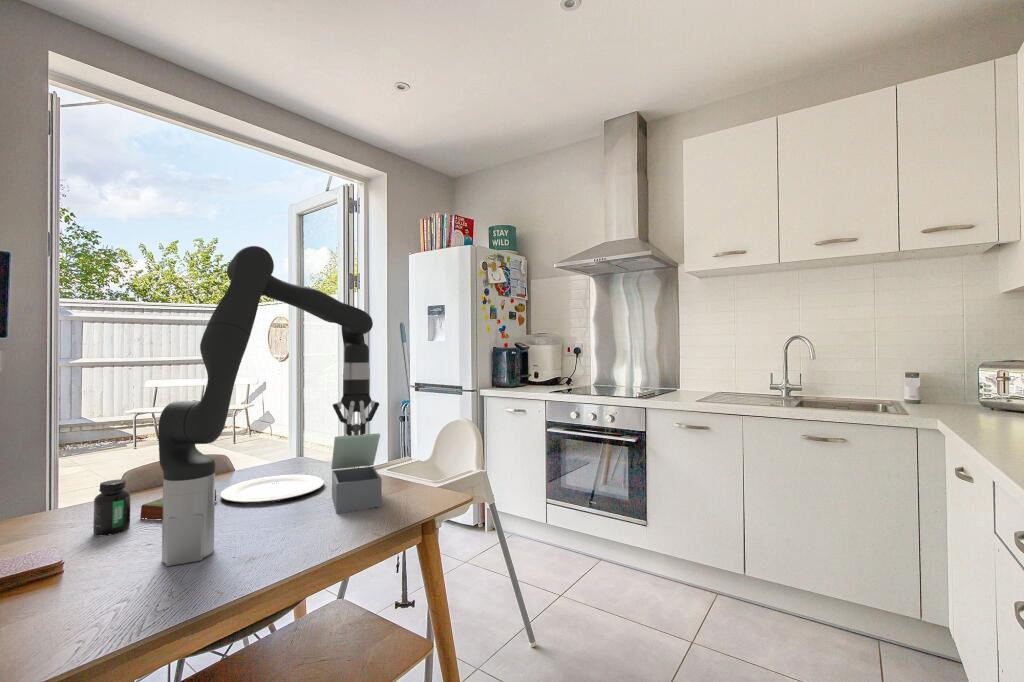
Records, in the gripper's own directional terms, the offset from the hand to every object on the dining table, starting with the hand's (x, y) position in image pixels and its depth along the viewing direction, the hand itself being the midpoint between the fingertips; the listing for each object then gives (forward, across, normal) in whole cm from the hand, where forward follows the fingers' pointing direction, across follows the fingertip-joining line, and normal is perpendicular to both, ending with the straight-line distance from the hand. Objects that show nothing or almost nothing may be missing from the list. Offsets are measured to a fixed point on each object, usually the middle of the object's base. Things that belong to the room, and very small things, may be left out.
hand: (355, 436), depth 136 cm
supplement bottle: (+20, -57, +2) cm, 60 cm away
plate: (+19, -22, +21) cm, 36 cm away
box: (+19, 0, -1) cm, 19 cm away
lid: (+5, 0, +1) cm, 5 cm away
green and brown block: (+20, -45, +13) cm, 51 cm away
